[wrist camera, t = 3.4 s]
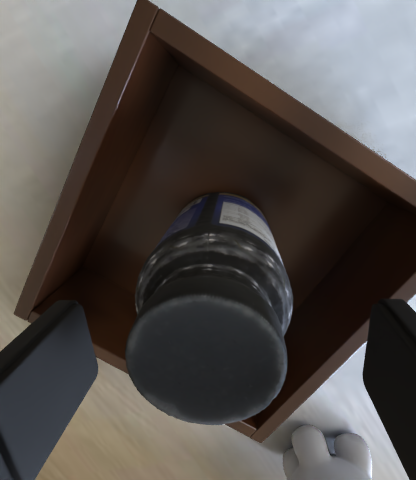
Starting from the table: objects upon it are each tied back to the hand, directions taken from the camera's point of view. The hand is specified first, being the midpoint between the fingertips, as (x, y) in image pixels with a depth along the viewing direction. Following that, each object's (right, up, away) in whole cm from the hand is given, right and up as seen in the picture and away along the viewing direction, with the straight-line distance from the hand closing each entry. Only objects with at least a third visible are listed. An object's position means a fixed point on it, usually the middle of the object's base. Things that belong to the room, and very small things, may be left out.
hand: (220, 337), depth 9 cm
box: (+1, +4, +10) cm, 10 cm away
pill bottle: (+1, +3, +9) cm, 10 cm away
